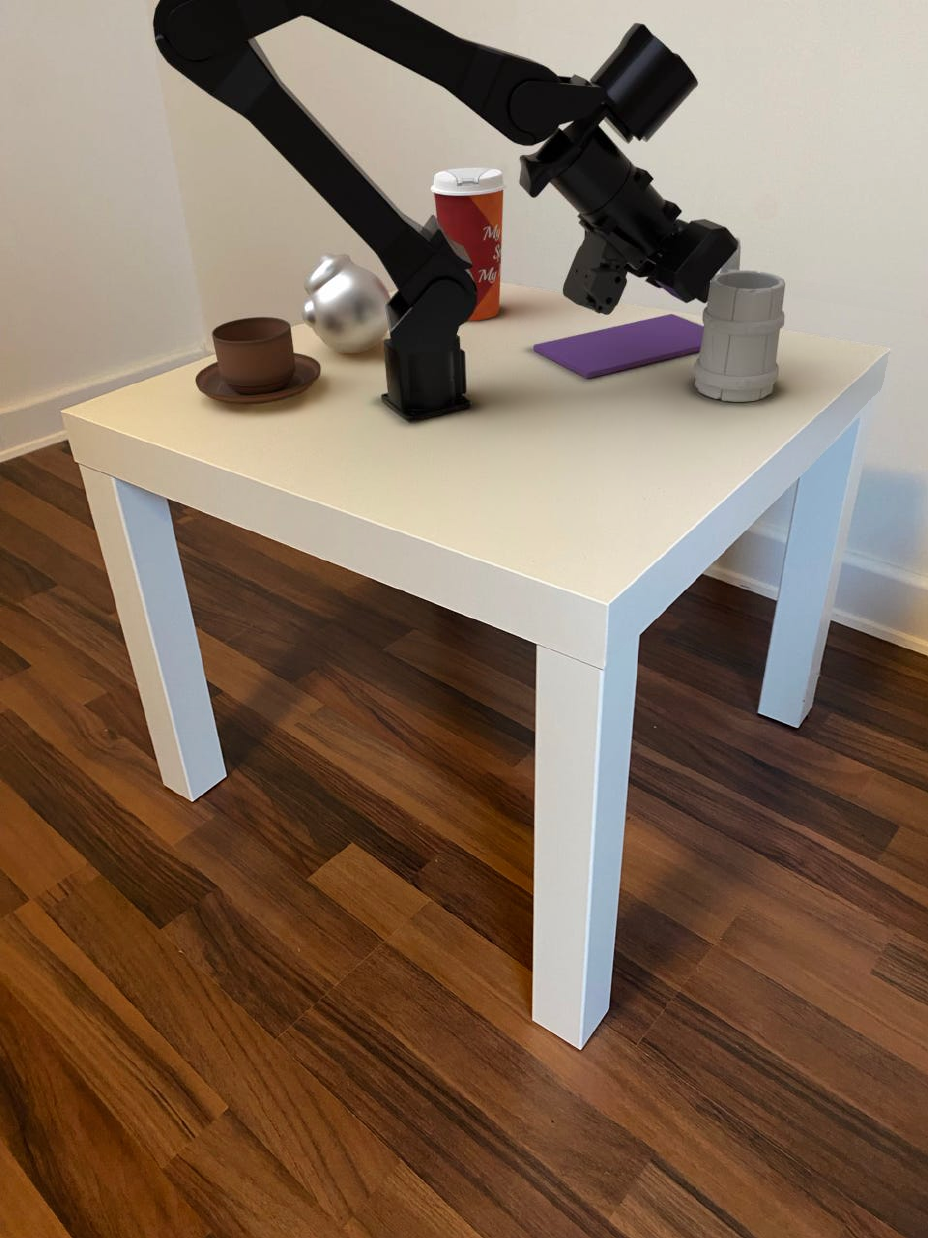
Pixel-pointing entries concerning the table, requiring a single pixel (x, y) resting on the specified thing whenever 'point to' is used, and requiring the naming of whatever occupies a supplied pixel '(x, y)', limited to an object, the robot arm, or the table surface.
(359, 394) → the table surface
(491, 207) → the coffee cup
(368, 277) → the silver lumpy ball
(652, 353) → the purple rectangular board
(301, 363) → the cup and saucer
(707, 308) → the mug
